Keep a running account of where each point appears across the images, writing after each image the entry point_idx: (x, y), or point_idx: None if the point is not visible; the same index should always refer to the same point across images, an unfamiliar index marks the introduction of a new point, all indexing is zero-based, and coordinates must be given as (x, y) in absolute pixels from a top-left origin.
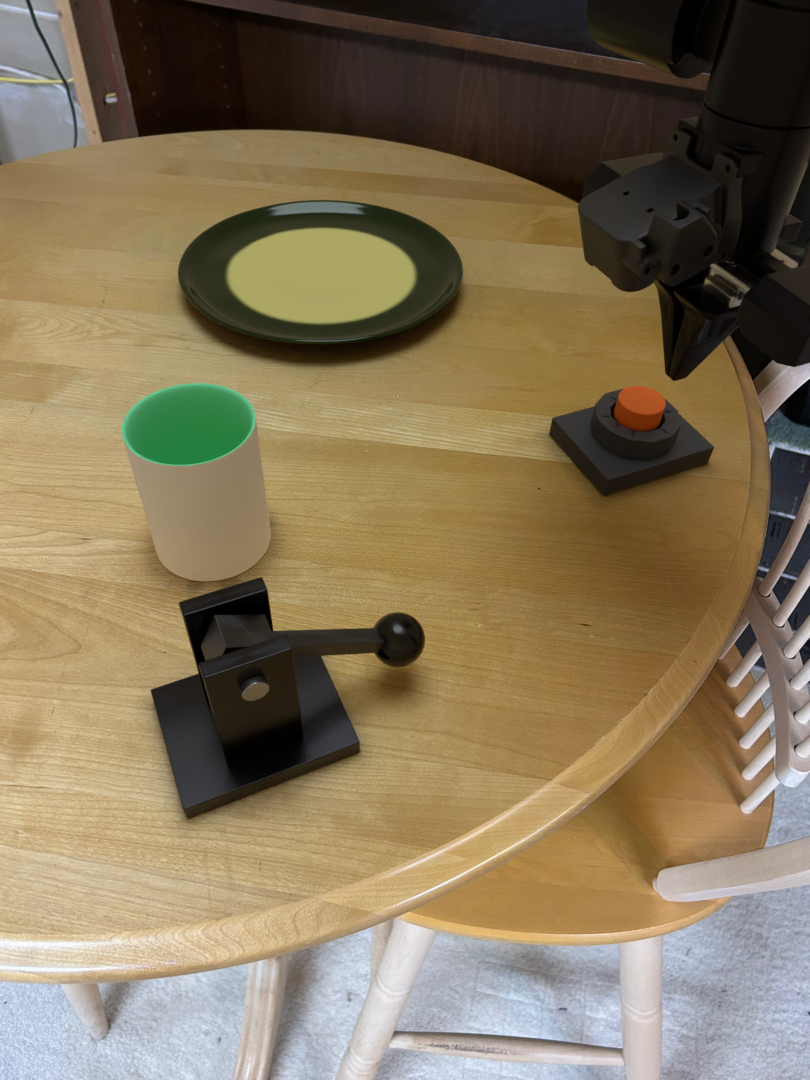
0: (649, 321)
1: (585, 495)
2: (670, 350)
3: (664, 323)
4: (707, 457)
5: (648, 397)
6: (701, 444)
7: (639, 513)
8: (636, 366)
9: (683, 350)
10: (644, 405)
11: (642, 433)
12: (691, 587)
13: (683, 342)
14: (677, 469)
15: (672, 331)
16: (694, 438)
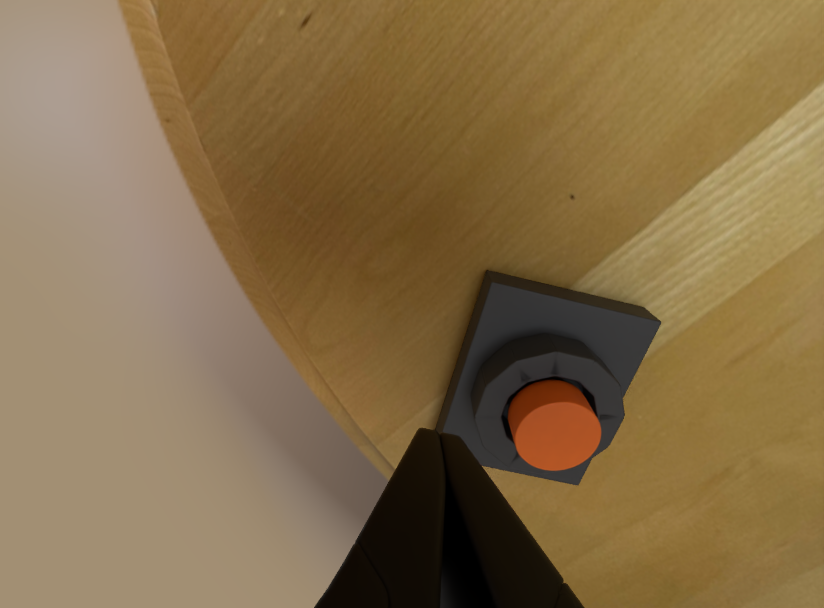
0: (682, 589)
1: (507, 248)
2: (463, 496)
3: (548, 588)
4: None
5: (553, 449)
6: None
7: (425, 286)
8: (636, 511)
9: (388, 515)
10: (545, 429)
11: (511, 387)
12: (276, 232)
13: (396, 547)
14: (448, 392)
15: (484, 570)
16: None
